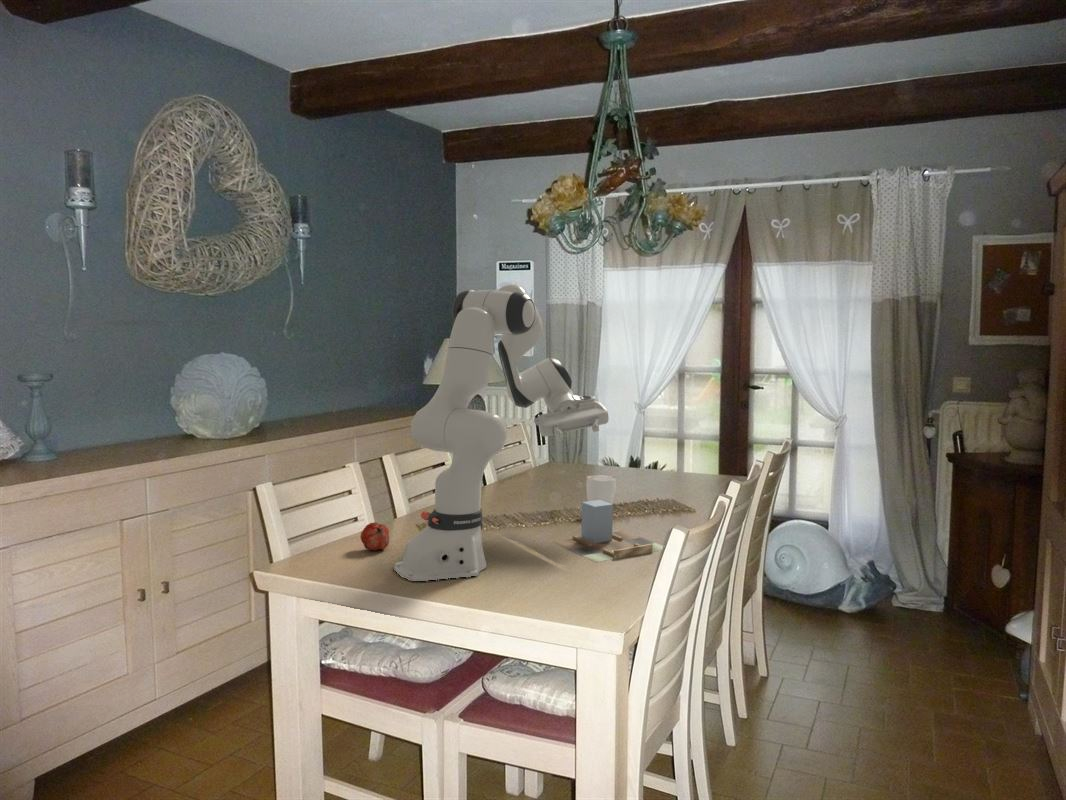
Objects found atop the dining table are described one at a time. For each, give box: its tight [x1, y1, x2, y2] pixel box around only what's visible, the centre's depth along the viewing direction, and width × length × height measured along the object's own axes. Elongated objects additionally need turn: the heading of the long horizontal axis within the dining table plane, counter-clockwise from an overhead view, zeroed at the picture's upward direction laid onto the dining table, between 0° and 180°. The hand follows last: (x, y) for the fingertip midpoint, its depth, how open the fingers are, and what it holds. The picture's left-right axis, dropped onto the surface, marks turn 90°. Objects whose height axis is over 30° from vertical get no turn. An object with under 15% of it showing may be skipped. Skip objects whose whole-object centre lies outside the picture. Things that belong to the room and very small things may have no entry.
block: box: [580, 500, 614, 543], centre depth 214 cm, size 6×6×10 cm
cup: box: [585, 474, 616, 505], centre depth 243 cm, size 9×9×12 cm
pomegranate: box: [360, 522, 390, 551], centre depth 205 cm, size 7×7×10 cm
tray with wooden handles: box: [553, 530, 664, 563], centre depth 209 cm, size 24×20×3 cm
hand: (580, 432), depth 218 cm, fingers open, 8 cm apart
